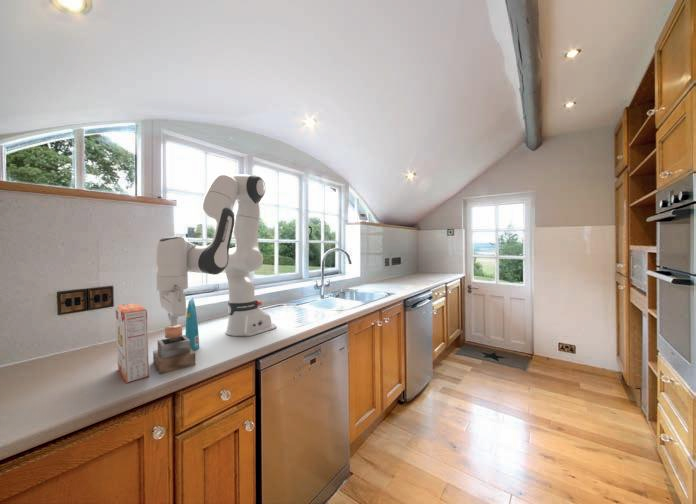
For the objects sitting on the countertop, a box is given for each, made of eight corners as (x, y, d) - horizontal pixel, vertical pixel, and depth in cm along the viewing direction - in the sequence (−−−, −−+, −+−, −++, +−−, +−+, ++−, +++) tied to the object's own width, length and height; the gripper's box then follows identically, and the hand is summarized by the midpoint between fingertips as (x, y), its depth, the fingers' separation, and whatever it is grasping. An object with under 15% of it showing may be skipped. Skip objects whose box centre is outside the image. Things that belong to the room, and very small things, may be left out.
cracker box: (116, 369, 89) (114, 305, 88) (139, 363, 93) (138, 302, 93) (124, 384, 79) (122, 312, 79) (149, 377, 84) (148, 308, 83)
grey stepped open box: (186, 354, 101) (186, 332, 101) (195, 364, 92) (195, 340, 92) (153, 362, 94) (152, 339, 94) (159, 374, 85) (159, 348, 85)
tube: (186, 346, 109) (185, 298, 109) (200, 344, 111) (199, 297, 111) (183, 353, 102) (182, 301, 102) (198, 351, 104) (197, 300, 104)
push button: (180, 338, 97) (180, 323, 96) (184, 341, 93) (183, 326, 93) (163, 341, 93) (163, 326, 93) (166, 345, 89) (166, 330, 89)
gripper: (191, 286, 87) (191, 329, 87) (176, 280, 102) (177, 317, 102) (167, 288, 83) (168, 334, 83) (156, 282, 98) (156, 321, 98)
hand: (173, 325), depth 93 cm, fingers closed
